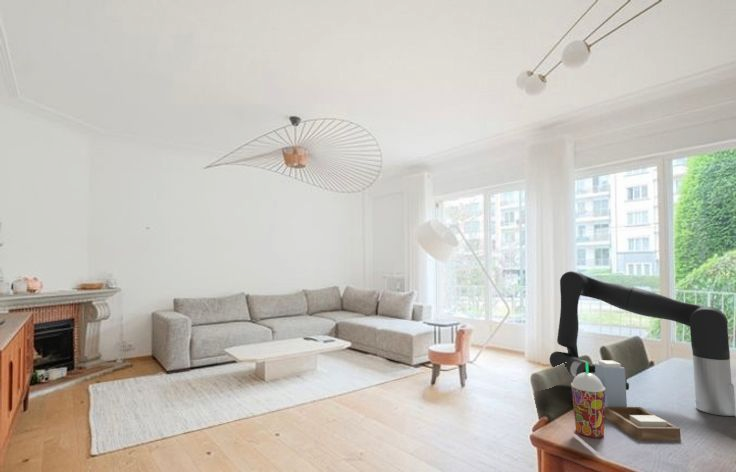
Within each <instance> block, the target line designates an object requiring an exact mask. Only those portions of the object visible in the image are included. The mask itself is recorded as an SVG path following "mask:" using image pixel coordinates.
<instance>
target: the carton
mask: <svg viewBox="0 0 736 472" xmlns="http://www.w3.org/2000/svg"><path fill="white" fill-rule="evenodd" d="M594 365H595V376H597V377H598V378H599V379H600V380H601V382H602V384H603V386H604V387H605V407H628V404H627V390H626V380H625V378H626V368H625V367H623V366H621V363H619V362H618V361H615V360H612V359H611V360H606V359H604V360H603V359H601V360H598V363H594Z"/></svg>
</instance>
